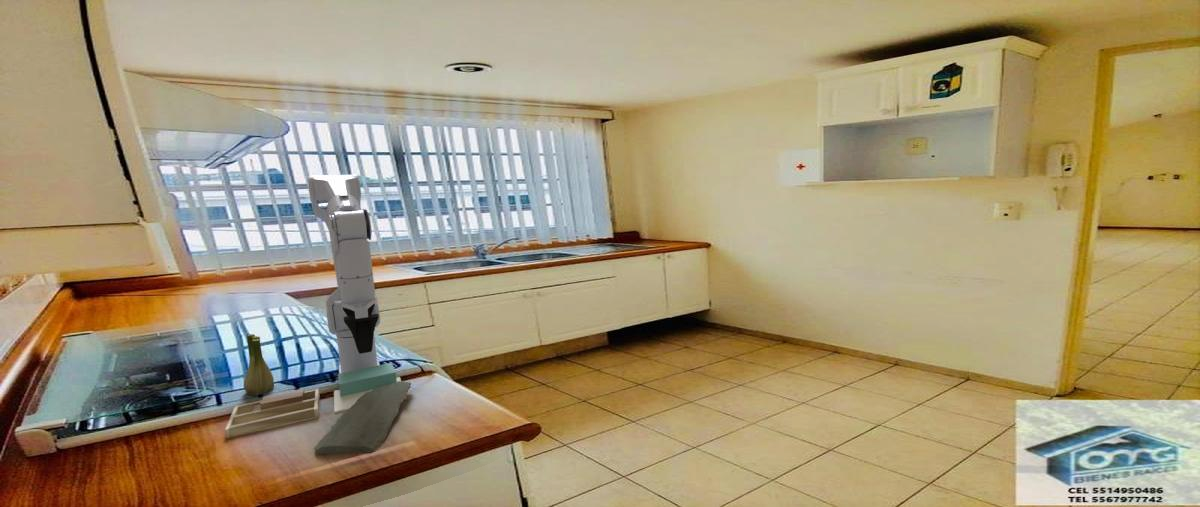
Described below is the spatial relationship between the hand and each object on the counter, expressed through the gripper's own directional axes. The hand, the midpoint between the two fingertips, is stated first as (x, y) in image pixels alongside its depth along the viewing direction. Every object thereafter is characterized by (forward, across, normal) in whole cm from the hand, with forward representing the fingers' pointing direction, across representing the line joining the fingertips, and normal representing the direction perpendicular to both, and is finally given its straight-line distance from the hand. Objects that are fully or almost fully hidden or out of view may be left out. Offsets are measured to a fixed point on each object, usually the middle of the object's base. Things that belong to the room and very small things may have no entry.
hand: (364, 346), depth 91 cm
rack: (+10, 0, -15) cm, 18 cm away
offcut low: (+10, -2, -15) cm, 18 cm away
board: (+8, -1, 0) cm, 8 cm away
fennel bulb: (+10, -14, -19) cm, 26 cm away
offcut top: (+8, -2, -14) cm, 17 cm away
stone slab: (+10, +10, 0) cm, 14 cm away
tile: (+10, 0, 0) cm, 10 cm away
